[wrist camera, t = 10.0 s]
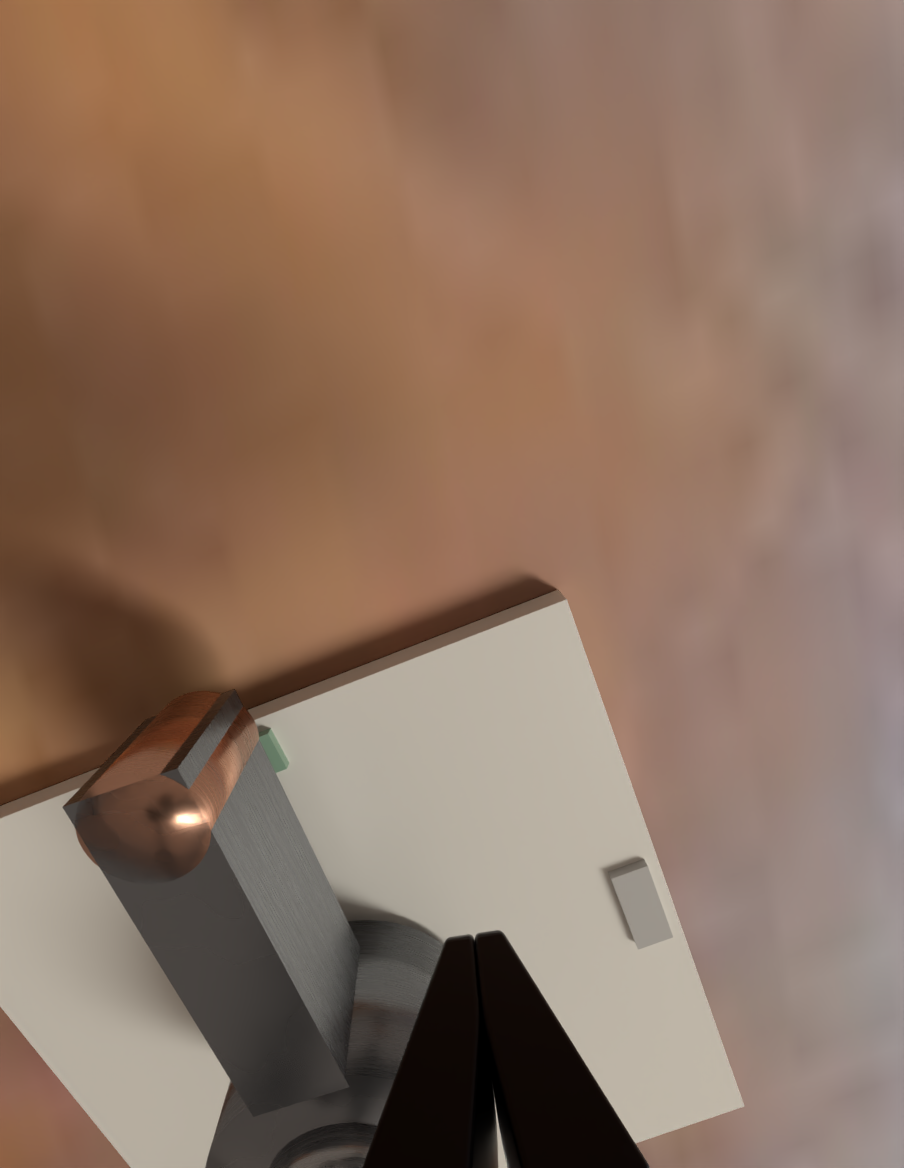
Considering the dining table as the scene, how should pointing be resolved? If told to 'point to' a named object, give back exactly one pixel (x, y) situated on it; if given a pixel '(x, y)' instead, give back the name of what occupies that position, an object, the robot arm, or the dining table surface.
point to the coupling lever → (254, 936)
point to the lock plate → (395, 884)
